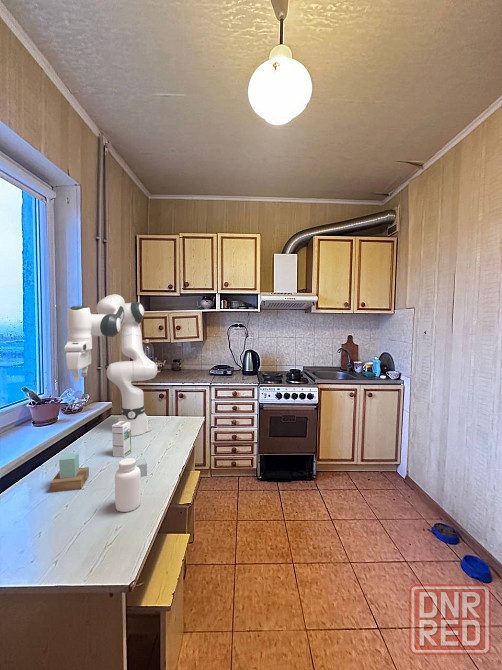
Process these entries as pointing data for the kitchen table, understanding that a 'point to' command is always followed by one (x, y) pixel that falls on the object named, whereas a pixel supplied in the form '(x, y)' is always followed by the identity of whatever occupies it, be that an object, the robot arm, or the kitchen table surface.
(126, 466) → the pill bottle
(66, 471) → the teal block
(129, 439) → the syrup box
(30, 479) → the kitchen table surface
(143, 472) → the grey block
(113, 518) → the kitchen table surface
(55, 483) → the base block
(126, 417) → the robot arm
